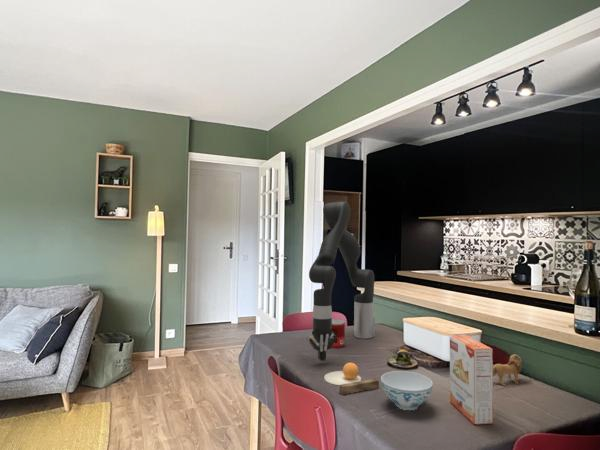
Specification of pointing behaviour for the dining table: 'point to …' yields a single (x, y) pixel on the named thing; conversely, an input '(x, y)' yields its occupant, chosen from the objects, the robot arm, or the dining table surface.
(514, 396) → the dining table surface
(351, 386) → the strip
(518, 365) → the lion figurine
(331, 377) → the disc
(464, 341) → the cracker box
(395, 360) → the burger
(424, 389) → the chinaware
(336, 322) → the canned food
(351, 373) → the ball
